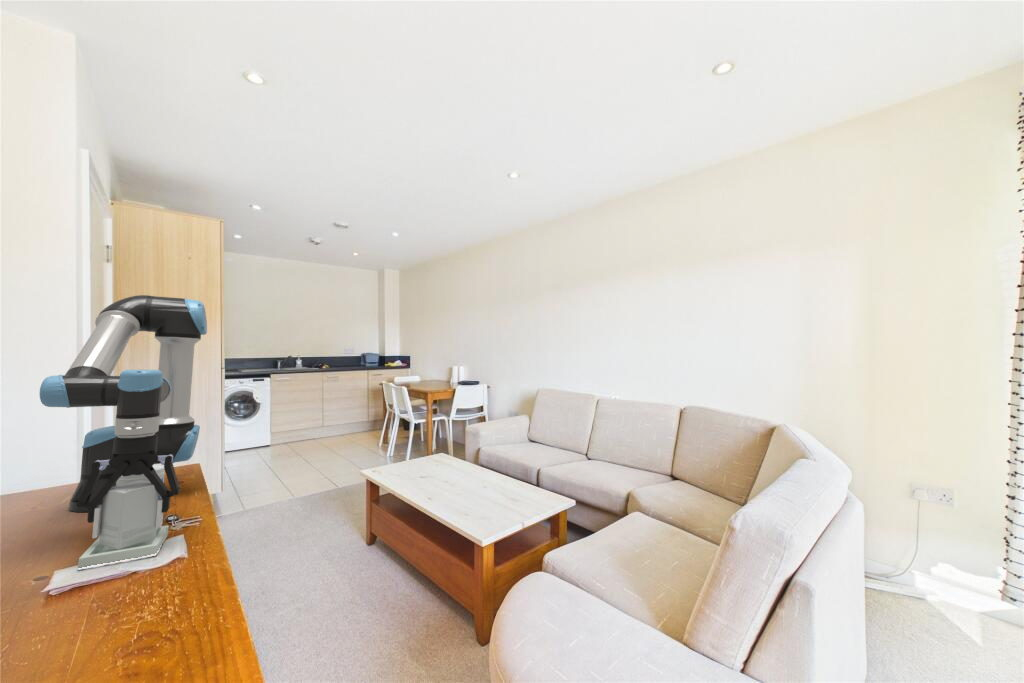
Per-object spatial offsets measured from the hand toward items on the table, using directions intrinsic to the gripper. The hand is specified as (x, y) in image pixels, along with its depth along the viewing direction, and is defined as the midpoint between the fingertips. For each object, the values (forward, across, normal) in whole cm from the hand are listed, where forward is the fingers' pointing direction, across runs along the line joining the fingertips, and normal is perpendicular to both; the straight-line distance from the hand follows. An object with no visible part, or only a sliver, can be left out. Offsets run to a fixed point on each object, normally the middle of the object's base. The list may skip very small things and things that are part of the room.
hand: (128, 530), depth 90 cm
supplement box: (+2, 0, 0) cm, 2 cm away
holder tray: (+5, 0, 0) cm, 5 cm away
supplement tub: (+5, -2, +18) cm, 19 cm away
